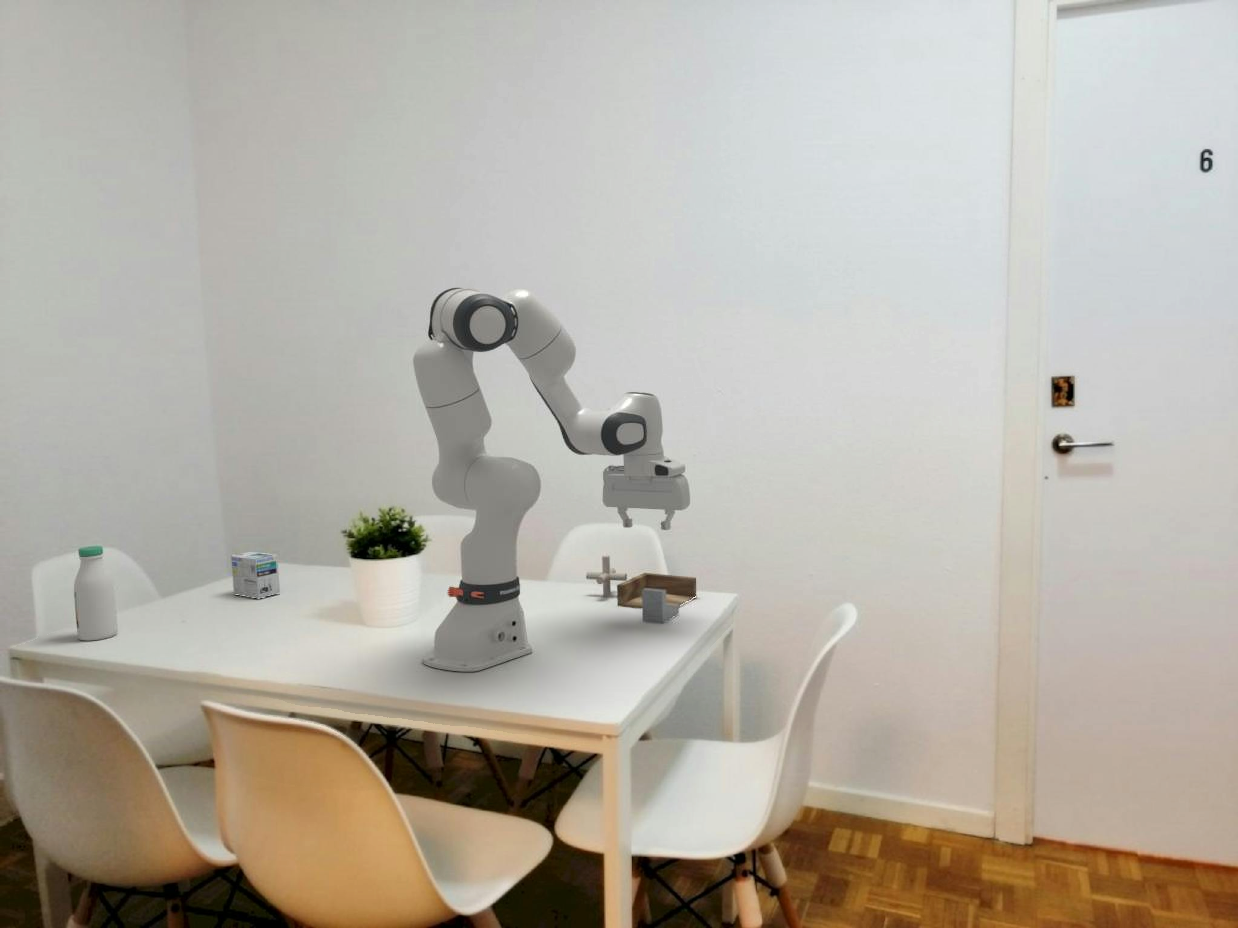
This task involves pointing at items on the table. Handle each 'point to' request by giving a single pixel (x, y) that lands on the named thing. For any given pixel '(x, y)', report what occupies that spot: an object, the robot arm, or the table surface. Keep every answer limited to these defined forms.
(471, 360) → the robot arm
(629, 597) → the wooden corner tray
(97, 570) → the milk bottle
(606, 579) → the pipe connector
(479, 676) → the table surface
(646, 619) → the bracket
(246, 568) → the light bulb box
